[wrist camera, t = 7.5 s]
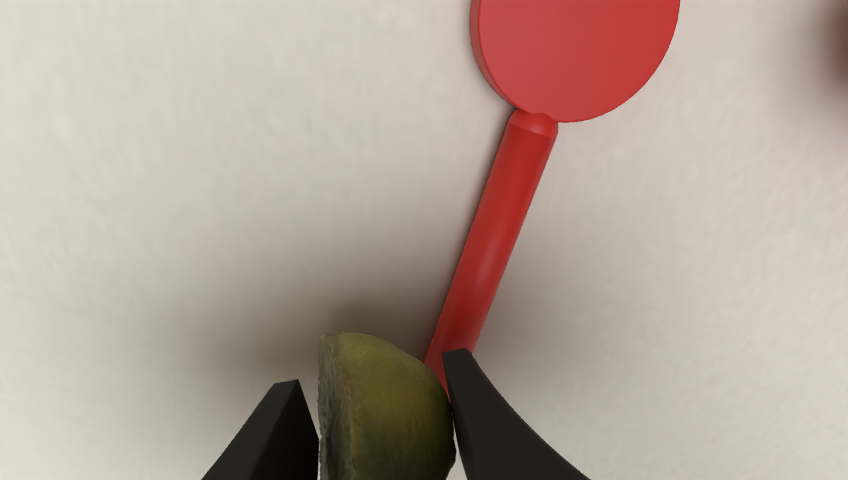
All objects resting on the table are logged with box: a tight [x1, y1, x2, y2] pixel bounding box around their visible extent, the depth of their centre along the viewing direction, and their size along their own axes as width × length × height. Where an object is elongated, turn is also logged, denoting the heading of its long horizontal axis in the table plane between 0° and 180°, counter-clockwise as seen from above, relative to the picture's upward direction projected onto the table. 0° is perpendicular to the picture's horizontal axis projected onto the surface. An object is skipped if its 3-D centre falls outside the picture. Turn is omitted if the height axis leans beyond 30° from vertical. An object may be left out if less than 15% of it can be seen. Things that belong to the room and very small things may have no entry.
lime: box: [317, 331, 456, 480], centre depth 11 cm, size 4×5×5 cm
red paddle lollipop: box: [424, 0, 680, 402], centre depth 12 cm, size 15×4×1 cm, turn 164°
